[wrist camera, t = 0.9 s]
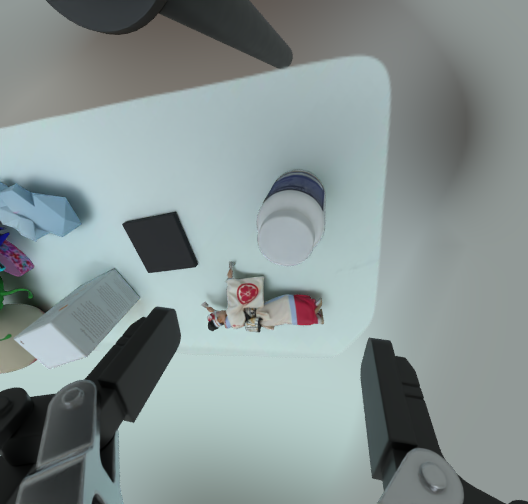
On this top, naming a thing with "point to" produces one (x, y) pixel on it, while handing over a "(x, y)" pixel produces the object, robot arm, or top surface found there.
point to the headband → (14, 259)
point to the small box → (78, 321)
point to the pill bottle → (292, 218)
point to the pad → (161, 243)
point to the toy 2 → (14, 322)
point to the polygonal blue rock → (36, 212)
